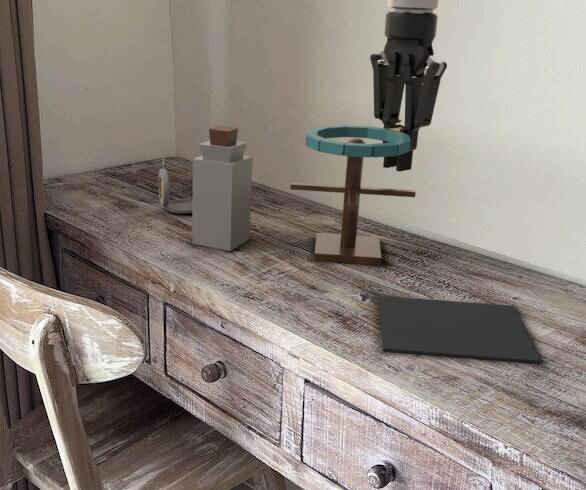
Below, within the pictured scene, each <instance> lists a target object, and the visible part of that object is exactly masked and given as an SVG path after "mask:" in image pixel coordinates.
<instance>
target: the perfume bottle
mask: <svg viewBox="0 0 586 490" xmlns="http://www.w3.org/2000/svg"><path fill="white" fill-rule="evenodd" d="M238 132H239V128H238V127H233V126H226V125H216V126H214V127H210V128H208V134H209V140H207V141H204V142H201V143H199V144H198V145H199V148H200V152H201V155H199V156H197V157H194V158H192V200H193V206H192V213H191V214H192V216H191V217H192V218H191V219H192V221H191V223H192V224H191V225H192V226H191V241H192V242H191V244H193V245H198V246H202V247H208V248H213V249H218V250H223V251H228V252H231V251H233V250H235V249H236V248H237V247H239V246H241V245H243V244H244V243H246V242H247V241H249V240H250V238H251V237H250V234H251V209H252V180H253V179H252V178H253V156H251V155H246V154H245V150H246V148H247V144H248V142H247V141H242V140H241V141H240V140H238Z"/></svg>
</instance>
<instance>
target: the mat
mask: <svg viewBox="0 0 586 490" xmlns="http://www.w3.org/2000/svg"><path fill="white" fill-rule="evenodd" d="M377 307H378V317H379V326H380V334H381V336H380V337H381V346H382V352H390V353H401V354H415V355H426V356H439V357H451V358H466V359H475V360H489V361H490V360H491V361H504V362H516V363H528V364H529V363H530V364H541V359H540V356H539V354H538V352H537V350H536V348H535V346H534V344H533V342H532V340H531V338H530V336H529V334H528V332H527V330H526V327H525V326H524V324H523V322H522V320H521V318H520V316H519V313H518V312H517V310H516V307H515V305H509V304H495V303H494V304H493V303H480V302H479V303H478V302H467V301H452V300H438V299H425V298H414V297H413V298H412V297H399V296H385V295H384V296H383V295H377Z"/></svg>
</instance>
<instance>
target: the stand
mask: <svg viewBox="0 0 586 490" xmlns="http://www.w3.org/2000/svg"><path fill="white" fill-rule="evenodd" d="M347 143H360V144H366V143H365V141H364V140H363V138H356V137H352V138H351V139H349V140H348V142H347ZM363 165H364V157H351V156H346V167H345V178H344V179H345V180H344V185H335V184H321V183H320V184H319V183H306V182H305V183H303V182H302V183H301V182H290V188H289V189H290V190H292V191H293V190H294V191H306V192H307V191H308V192H322V193H323V192H324V193H325V192H326V193H340V194H341V193H342V194H343V205H342V216H341V227H340V229H341V231H340V233H328V232H326V233H325V232H316V236H315V238H316V239H315V245H314V258H313V261H314V262H328V263H329V262H330V263H341V264H343V263H344V264H354V265H355V264H356V265H357V264H358V265H371V266H381V265H382V259H383V258H382V251H381V243H380V237H379V236H372V235H358V224H359V211H360V200H361V195H370V196H371V195H372V196H387V197H403V198H404V197H406V198H416V195H417V194H416V190H414V189H398V188H384V187H383V188H381V187H367V186H362V177H363Z"/></svg>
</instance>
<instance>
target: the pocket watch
mask: <svg viewBox="0 0 586 490" xmlns="http://www.w3.org/2000/svg"><path fill="white" fill-rule="evenodd" d="M160 157H161V160H162V163H161V164H162V168H160V169H159V172H158V182H157V183H158V197H159V202H160V206H161V207H163V208H165V210H167V212H170V213H175V214H181V215H189V214H192V206H193V199H173V200H170V197H171V195H170V194H171V187H170V186H171V185H170V176H169V172H168V170H167V162H166V159H165V158H164V155H163V154H161V155H160Z"/></svg>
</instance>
